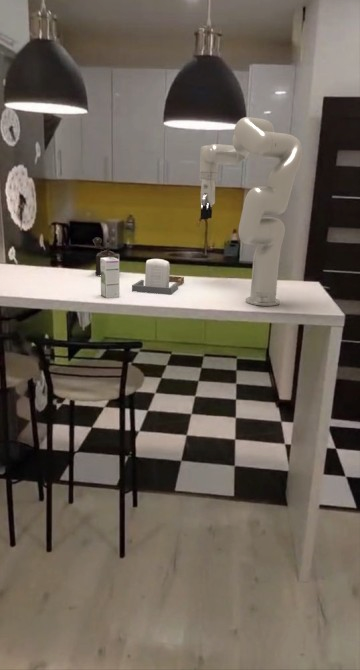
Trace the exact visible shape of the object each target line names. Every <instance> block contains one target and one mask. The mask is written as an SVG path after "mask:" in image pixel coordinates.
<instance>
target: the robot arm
mask: <svg viewBox="0 0 360 670" xmlns="http://www.w3.org/2000/svg"><path fill="white" fill-rule="evenodd" d="M233 134H234V135H233V136H232V144H231V145H229V144H221V143H220V144H218V143H212V144H209V145H203V146H201V147H200V156H199V157H200V158H199V159H200V160H199V179H198V180H199V181H201V186H200V204H201V207H200V219H201V220H208V219H212V216H213V205H214V204H215V203H216V182H217V181H218V171H219V169H218V168H219V165H228V166H230V165H231V166H233V165H237V164H239V163H241V162H244V161H246V160H247V159H248V157H249V155H250V154H251V155H252V156H254V157H256V158H260V159H271V160H274V159H275V160H278V162H277V163H276V164H275V165H274V167H273V168H272V170H271V172H270V174H269V177H268V182H267V185H266V186H262V185H261V186H255V187H252V188H250V190H248V192H247V194H246V196H245V198H244V202H243V207H242V211H241V215H240V219H239V220H240V221H239V224H238V236H239V237H238V238H239V240H240V241H241V242H242V244H246V245H257V246H256V248H255V250H254V253H253V259H252V272H251V281H250V282H251V283H250V284H251V285H250V295H249V296H247V297H246V298H245V302H246V303H248V304H251V305H254V306H263V307H272V306H273V307H274V306H278V305H280V300H279V299H278V298H277V288H278V287H277V285H278V277H279V265H280V258H281V257H280V256H281V249H282V244H283V240H284V238H285V233H286V227H285V224H284V222H283V221H282V220H281V219H279V218H276V217H271V216H270V215H273V216H276V215H281V214H283V213H285V212H286V210H287V208H288V204H289V201H290V197H291V193H292V189H293V187H294V186H293V185H294V181H295V178H296V175H297V172H298V170H299V168H300V164H301V162H302V158H303V147H302V144H301V141H300V140H299V139H298V138H297V137H296V136H294V135H292V134H289V133H284V132H282V133H281V132H275V128H274V125H273V123H272V122H271V121H269V120H268V119H266V118H265V119H264V118H259V117H258V118H256V117H249V116H245V117H242V118H240V119H239V120H238V121H237V122H236V124H235V127H234V129H233ZM267 215H268V216H267ZM269 216H270V217H269Z"/></svg>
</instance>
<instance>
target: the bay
mask: <svg viewBox="0 0 360 670" xmlns="http://www.w3.org/2000/svg"><path fill="white" fill-rule="evenodd" d="M178 289H179V286H178V282H174V283H173V284H172V285H171V286H169V288H166V287H153V286H145V279H140V280H138V281H137V282H135V283H134V284H132V285H131V291H132V292H133V291H137V292H136V293H145V292H147V293H148V294H157V293H158V295H159V294H160V295H172V294H173V293H175V292H176V291H177V290H178ZM147 293H146V294H147Z"/></svg>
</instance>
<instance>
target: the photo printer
mask: <svg viewBox="0 0 360 670" xmlns="http://www.w3.org/2000/svg"><path fill="white" fill-rule="evenodd" d="M170 271H171V267H170V262H169V261H168V260H165V259H162V258H151V259H147V260H146V262H145V278H144V286H153V287H166V288H169V287H170V282H169V276H170Z"/></svg>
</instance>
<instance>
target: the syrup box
mask: <svg viewBox="0 0 360 670" xmlns="http://www.w3.org/2000/svg"><path fill="white" fill-rule="evenodd" d="M100 262H101V276H100V295H101V296H102V297H104V298H105V299H113V298H120V258H119V259H116V258H113V257H105V258H101V259H100Z"/></svg>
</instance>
